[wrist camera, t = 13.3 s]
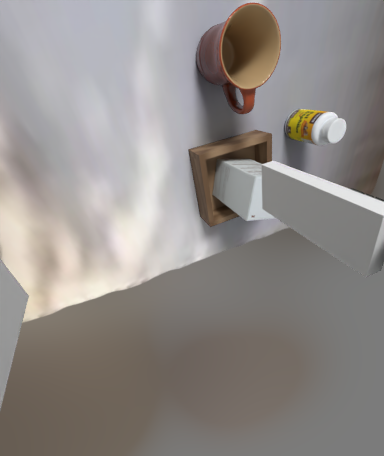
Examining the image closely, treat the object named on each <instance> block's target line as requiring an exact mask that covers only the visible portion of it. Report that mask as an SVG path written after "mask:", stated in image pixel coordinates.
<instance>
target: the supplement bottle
mask: <svg viewBox="0 0 384 456" xmlns="http://www.w3.org/2000/svg"><path fill="white" fill-rule="evenodd" d="M345 131H346V122H345V120H343V119H341V118H338V117H337V115H336V114H335V113H333V112H325V111H316V110H306V109H297V110H295V111H293V112H292V113H291V114H290V115H289V116H288V118H287V120H286V123H285V132H286V134H287V136H288V137H289V138H291V139H295V140H299V141H303V142H307V143H311V144H315V145H319V146H323V145H326V144H328V143H337V142H338V141H339V140H341V138H342V137H343V136H344V134H345Z"/></svg>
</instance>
